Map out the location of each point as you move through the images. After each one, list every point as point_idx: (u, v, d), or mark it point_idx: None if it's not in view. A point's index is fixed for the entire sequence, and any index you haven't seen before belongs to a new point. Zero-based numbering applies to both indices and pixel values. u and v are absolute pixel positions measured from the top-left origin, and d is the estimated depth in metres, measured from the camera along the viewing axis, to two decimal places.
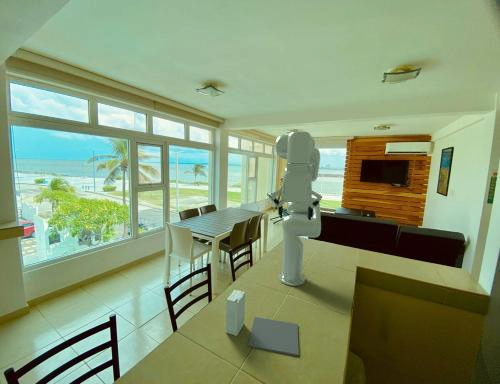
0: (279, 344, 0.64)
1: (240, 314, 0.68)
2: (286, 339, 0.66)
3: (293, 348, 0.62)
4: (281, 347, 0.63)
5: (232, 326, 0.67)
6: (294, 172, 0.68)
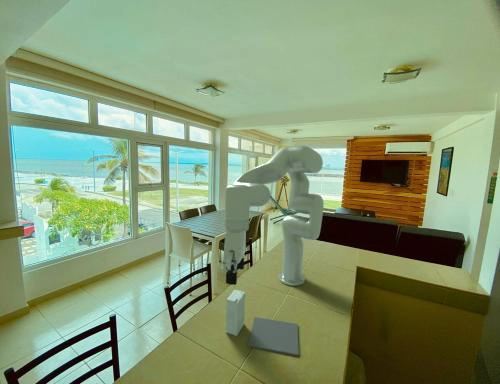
0: (279, 344, 0.64)
1: (240, 314, 0.68)
2: (286, 339, 0.66)
3: (293, 348, 0.62)
4: (281, 347, 0.63)
5: (232, 326, 0.67)
6: (246, 229, 0.64)
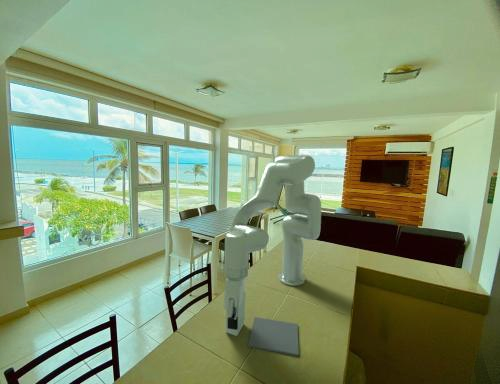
0: (279, 344, 0.64)
1: (240, 314, 0.68)
2: (286, 339, 0.66)
3: (293, 348, 0.62)
4: (281, 347, 0.63)
5: None
6: (246, 276, 0.66)
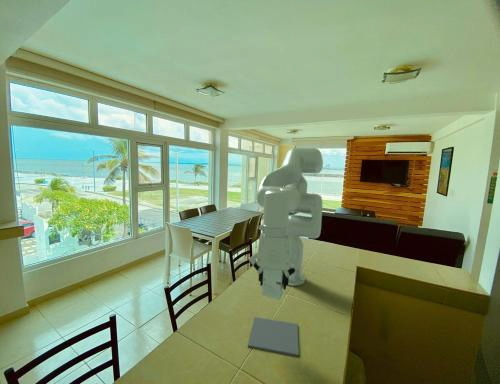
0: (279, 344, 0.64)
1: None
2: (286, 339, 0.66)
3: (293, 348, 0.62)
4: (281, 347, 0.63)
5: (282, 287, 0.65)
6: None
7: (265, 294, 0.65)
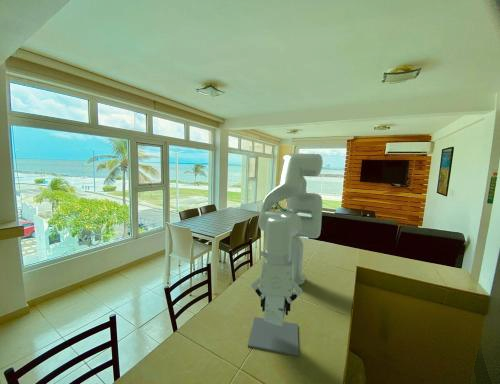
0: (279, 344, 0.64)
1: None
2: (286, 339, 0.66)
3: (293, 348, 0.62)
4: (281, 347, 0.63)
5: (284, 312, 0.66)
6: None
7: (268, 320, 0.65)
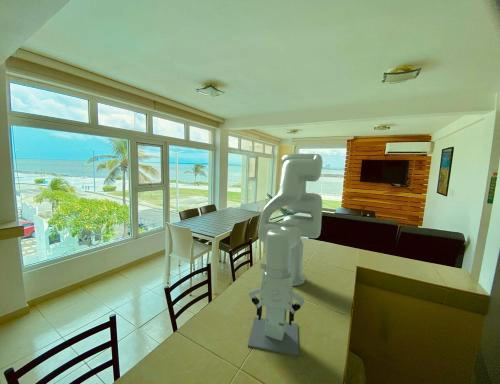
0: (279, 344, 0.64)
1: None
2: (286, 339, 0.66)
3: (293, 348, 0.62)
4: (281, 347, 0.63)
5: (284, 326, 0.67)
6: None
7: (268, 334, 0.66)
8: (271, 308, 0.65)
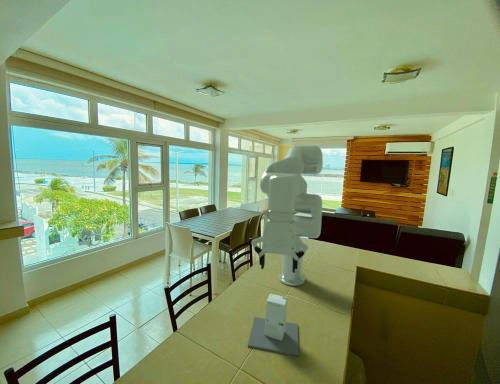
0: (279, 344, 0.64)
1: None
2: (286, 339, 0.66)
3: (293, 348, 0.62)
4: (281, 347, 0.63)
5: (284, 326, 0.67)
6: None
7: (268, 334, 0.66)
8: (271, 308, 0.65)
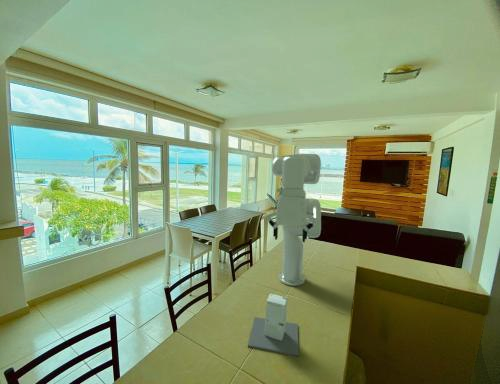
0: (279, 344, 0.64)
1: None
2: (286, 339, 0.66)
3: (293, 348, 0.62)
4: (281, 347, 0.63)
5: (284, 326, 0.67)
6: None
7: (268, 334, 0.66)
8: (271, 308, 0.65)
